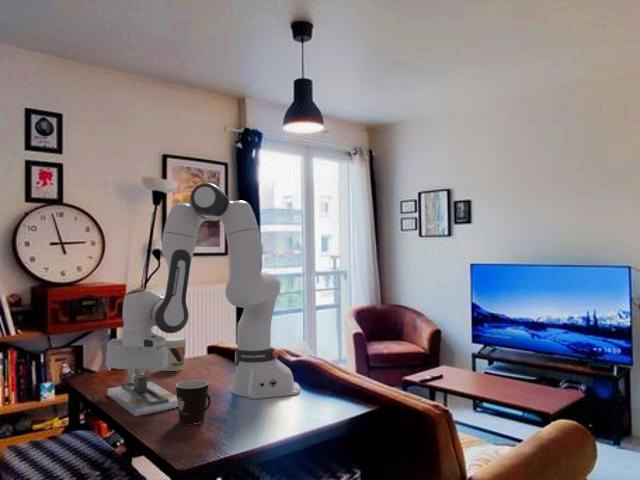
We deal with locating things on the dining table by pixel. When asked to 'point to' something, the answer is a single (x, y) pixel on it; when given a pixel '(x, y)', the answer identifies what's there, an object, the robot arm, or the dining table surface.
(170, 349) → the coffee cup
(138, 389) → the fader knob
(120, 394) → the console
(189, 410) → the coffee mug
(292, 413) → the dining table surface
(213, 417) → the dining table surface
